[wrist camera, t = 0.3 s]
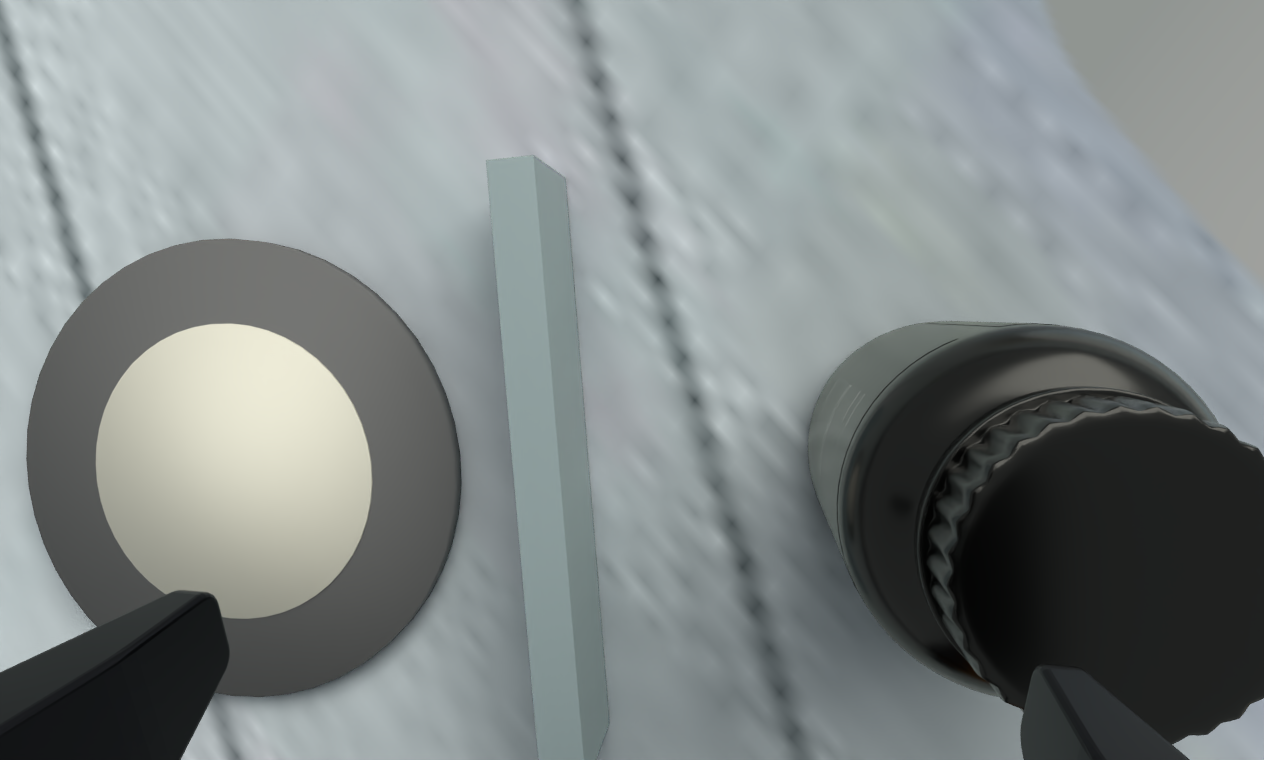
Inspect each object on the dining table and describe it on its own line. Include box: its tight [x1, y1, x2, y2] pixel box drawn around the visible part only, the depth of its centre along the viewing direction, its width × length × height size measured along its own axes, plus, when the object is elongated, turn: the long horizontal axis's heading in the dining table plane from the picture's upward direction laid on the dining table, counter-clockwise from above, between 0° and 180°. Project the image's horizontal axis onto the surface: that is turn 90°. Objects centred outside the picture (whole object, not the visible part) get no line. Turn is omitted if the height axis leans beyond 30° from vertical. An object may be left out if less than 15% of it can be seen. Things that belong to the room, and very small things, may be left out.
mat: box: [26, 239, 461, 697], centre depth 26 cm, size 14×14×1 cm
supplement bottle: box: [808, 321, 1264, 744], centre depth 17 cm, size 7×7×12 cm
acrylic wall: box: [486, 155, 609, 760], centre depth 23 cm, size 16×1×4 cm, turn 4°
